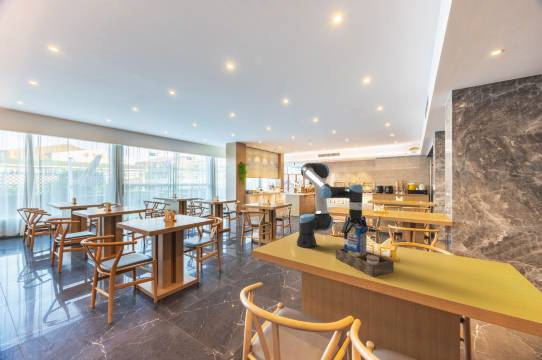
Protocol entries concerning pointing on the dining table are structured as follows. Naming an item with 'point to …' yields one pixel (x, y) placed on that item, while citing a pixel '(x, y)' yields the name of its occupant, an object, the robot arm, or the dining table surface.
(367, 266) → the caddy
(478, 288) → the dining table surface
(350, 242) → the beverage box
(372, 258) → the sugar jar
